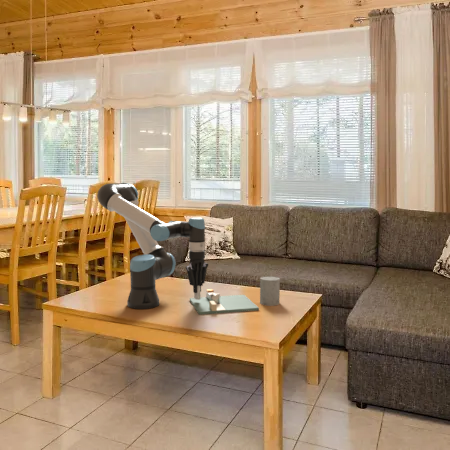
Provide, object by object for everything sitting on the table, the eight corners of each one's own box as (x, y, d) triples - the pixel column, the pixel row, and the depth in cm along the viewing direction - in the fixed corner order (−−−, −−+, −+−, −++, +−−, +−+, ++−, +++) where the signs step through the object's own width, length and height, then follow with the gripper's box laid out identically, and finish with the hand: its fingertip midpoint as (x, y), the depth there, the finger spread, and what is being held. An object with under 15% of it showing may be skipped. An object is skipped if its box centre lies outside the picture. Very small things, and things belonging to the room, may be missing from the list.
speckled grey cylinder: (265, 306, 232) (265, 281, 231) (256, 301, 241) (256, 276, 239) (283, 304, 236) (283, 279, 234) (273, 299, 244) (274, 275, 243)
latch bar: (220, 303, 231) (220, 295, 231) (211, 304, 230) (211, 296, 230) (213, 296, 245) (213, 288, 244) (205, 296, 244) (205, 288, 243)
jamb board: (199, 314, 219) (199, 305, 218) (189, 300, 242) (189, 292, 242) (258, 310, 226) (258, 301, 225) (244, 297, 249) (244, 288, 248)
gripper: (192, 253, 225) (192, 303, 228) (212, 249, 234) (212, 297, 237) (181, 251, 230) (181, 300, 233) (201, 248, 240) (201, 295, 242)
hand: (197, 299), depth 235 cm, fingers closed
